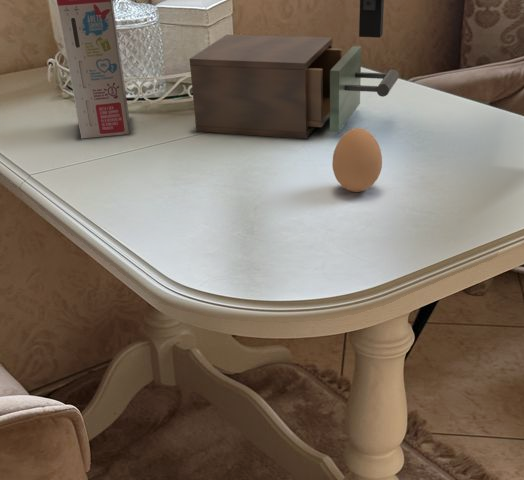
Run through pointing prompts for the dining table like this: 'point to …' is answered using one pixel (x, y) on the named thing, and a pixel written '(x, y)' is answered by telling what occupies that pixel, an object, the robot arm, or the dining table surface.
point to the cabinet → (254, 84)
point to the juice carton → (95, 66)
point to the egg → (357, 160)
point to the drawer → (340, 87)
